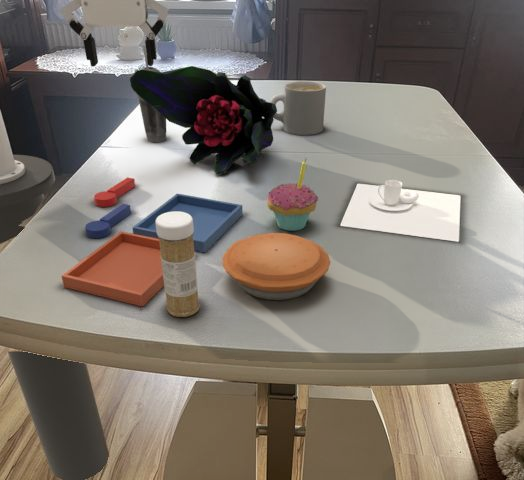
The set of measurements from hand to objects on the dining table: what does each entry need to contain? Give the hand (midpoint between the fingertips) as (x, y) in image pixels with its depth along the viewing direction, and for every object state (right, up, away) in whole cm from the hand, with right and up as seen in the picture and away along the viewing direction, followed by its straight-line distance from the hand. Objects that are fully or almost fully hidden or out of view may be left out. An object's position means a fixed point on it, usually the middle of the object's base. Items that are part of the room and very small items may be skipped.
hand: (122, 64), depth 95 cm
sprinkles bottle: (+13, -44, -20) cm, 50 cm away
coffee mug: (+33, +6, +43) cm, 55 cm away
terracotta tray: (+4, -37, -12) cm, 40 cm away
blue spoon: (-2, -28, 0) cm, 28 cm away
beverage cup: (-1, +1, +36) cm, 36 cm away
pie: (+26, -39, -13) cm, 49 cm away
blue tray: (+12, -28, 0) cm, 30 cm away
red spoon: (-4, -20, +10) cm, 23 cm away
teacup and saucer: (+50, -24, +6) cm, 56 cm away
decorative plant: (+16, -10, +23) cm, 30 cm away
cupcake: (+29, -28, +1) cm, 40 cm away
